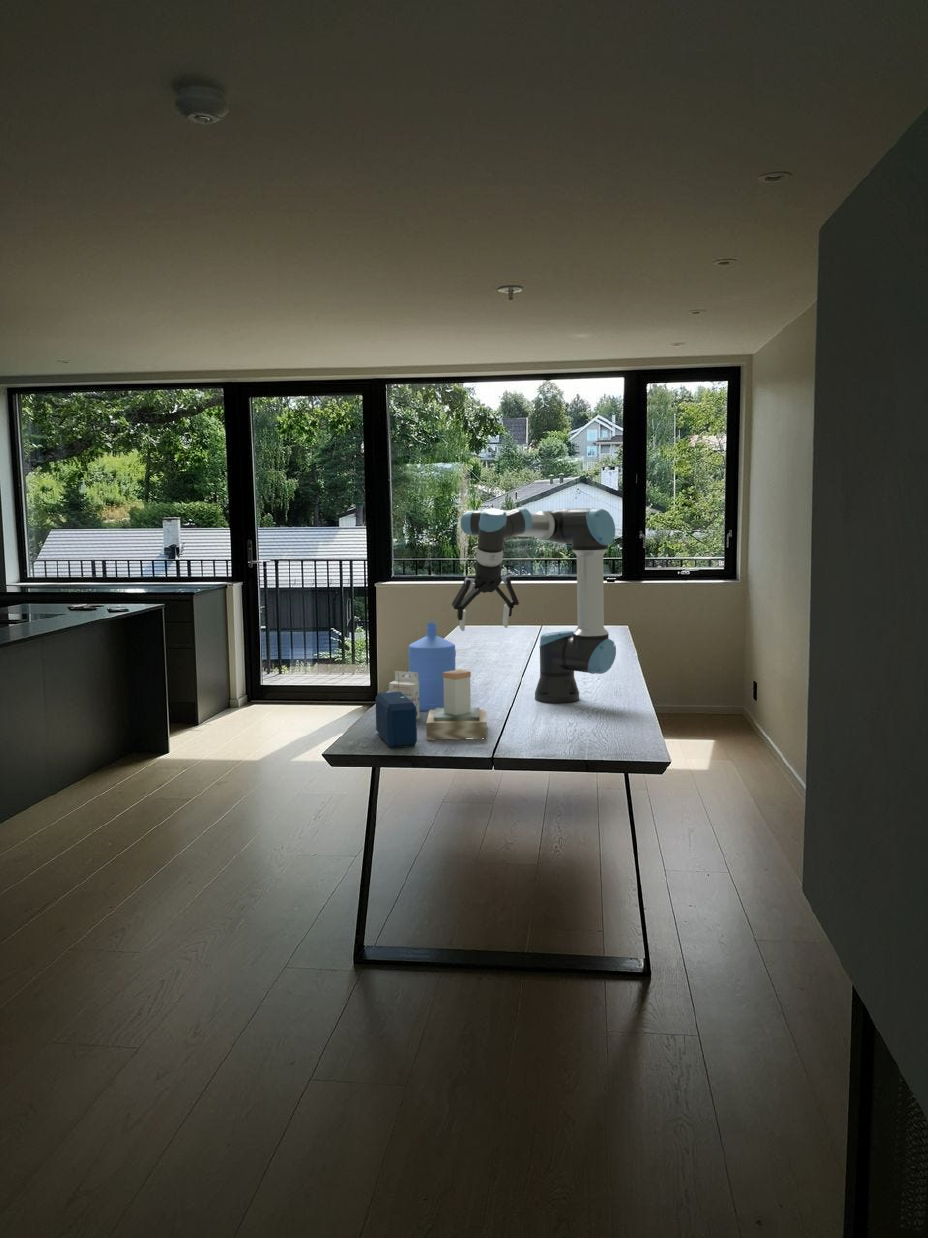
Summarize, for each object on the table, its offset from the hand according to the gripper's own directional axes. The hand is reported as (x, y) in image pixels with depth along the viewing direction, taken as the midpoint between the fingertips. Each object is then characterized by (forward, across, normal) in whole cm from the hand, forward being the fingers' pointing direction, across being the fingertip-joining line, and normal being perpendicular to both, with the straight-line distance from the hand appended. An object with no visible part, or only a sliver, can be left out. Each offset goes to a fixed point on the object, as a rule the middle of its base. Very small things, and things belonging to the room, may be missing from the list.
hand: (483, 627), depth 276 cm
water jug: (+38, -9, +17) cm, 42 cm away
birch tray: (+25, -12, -17) cm, 32 cm away
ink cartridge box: (+33, -22, +4) cm, 40 cm away
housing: (+20, -11, -15) cm, 27 cm away
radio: (+24, -30, -19) cm, 43 cm away
